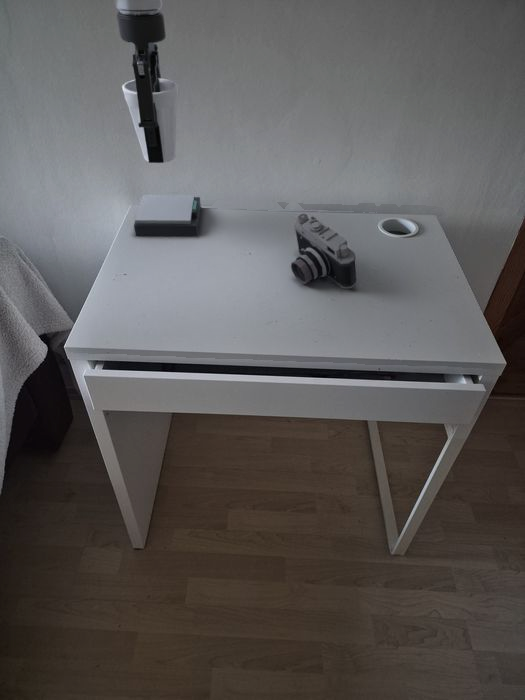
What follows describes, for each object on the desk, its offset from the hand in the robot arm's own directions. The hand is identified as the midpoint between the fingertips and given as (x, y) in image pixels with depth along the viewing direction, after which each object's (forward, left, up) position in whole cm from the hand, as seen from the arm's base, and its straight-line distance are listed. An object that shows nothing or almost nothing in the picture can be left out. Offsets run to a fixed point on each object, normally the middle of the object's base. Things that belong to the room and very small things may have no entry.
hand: (158, 152), depth 88 cm
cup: (0, 0, -1) cm, 1 cm away
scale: (+1, 0, -15) cm, 15 cm away
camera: (+16, -33, -15) cm, 39 cm away
